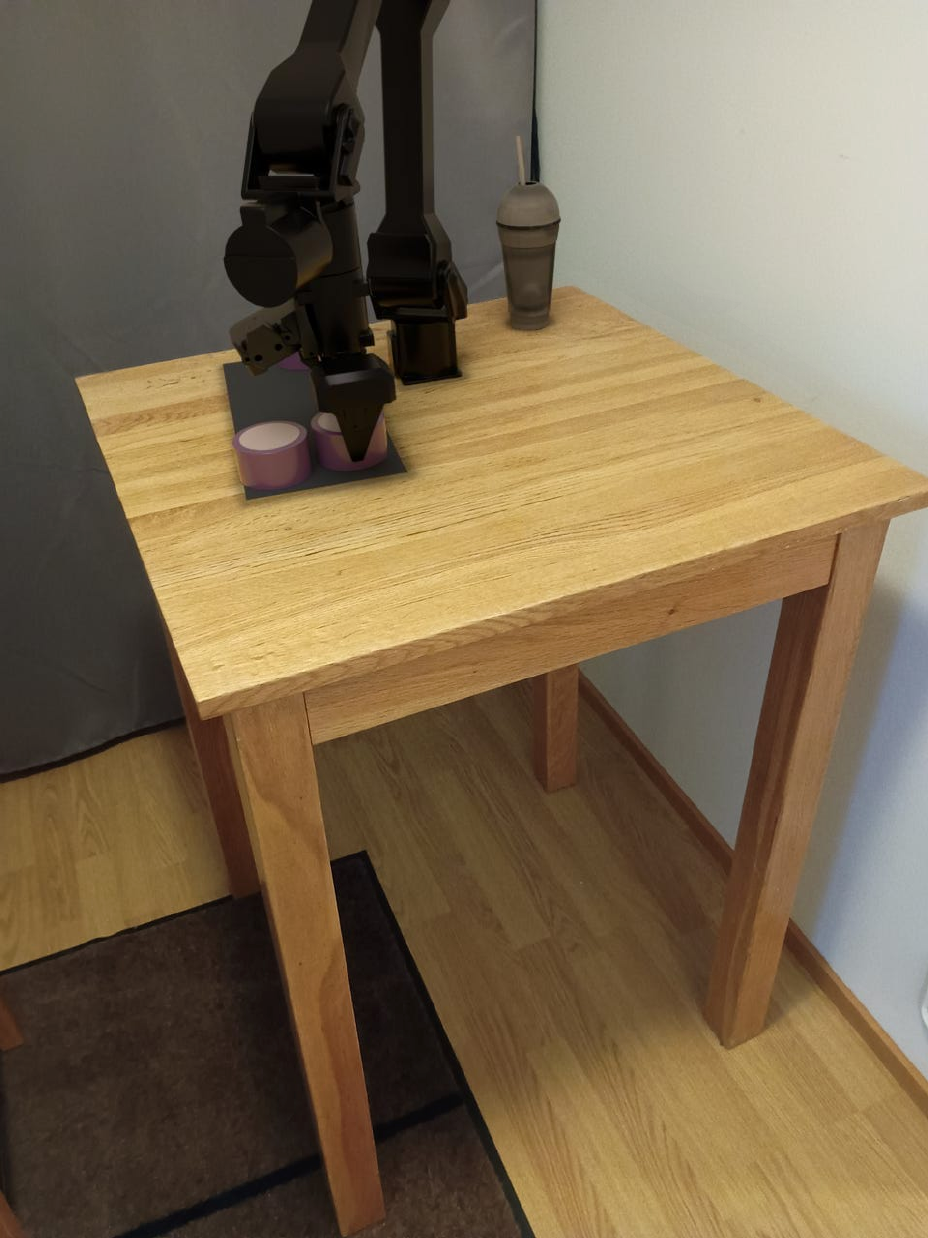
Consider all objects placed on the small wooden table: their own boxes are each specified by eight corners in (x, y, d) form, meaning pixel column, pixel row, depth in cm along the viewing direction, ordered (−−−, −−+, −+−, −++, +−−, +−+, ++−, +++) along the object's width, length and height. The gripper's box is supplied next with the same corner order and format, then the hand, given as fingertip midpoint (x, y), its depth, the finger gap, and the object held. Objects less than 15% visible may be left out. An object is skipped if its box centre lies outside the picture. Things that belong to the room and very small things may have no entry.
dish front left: (380, 434, 87) (376, 398, 85) (394, 464, 82) (390, 426, 80) (312, 445, 86) (306, 409, 84) (322, 476, 81) (316, 439, 79)
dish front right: (308, 451, 85) (302, 415, 83) (318, 483, 80) (311, 445, 78) (237, 463, 84) (228, 426, 82) (242, 496, 79) (234, 458, 77)
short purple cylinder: (329, 345, 107) (324, 314, 105) (338, 365, 102) (333, 333, 100) (273, 353, 106) (267, 322, 104) (279, 374, 101) (273, 342, 98)
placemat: (345, 347, 107) (345, 345, 107) (407, 474, 81) (407, 471, 81) (223, 366, 104) (222, 363, 104) (246, 503, 78) (246, 499, 78)
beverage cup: (538, 338, 106) (536, 144, 94) (486, 327, 110) (479, 140, 98) (572, 319, 110) (574, 132, 98) (521, 309, 114) (518, 128, 102)
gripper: (217, 249, 80) (252, 417, 89) (232, 316, 65) (272, 509, 75) (345, 233, 82) (365, 399, 91) (387, 295, 67) (406, 485, 77)
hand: (351, 444), depth 83 cm, fingers closed on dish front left, 6 cm apart
